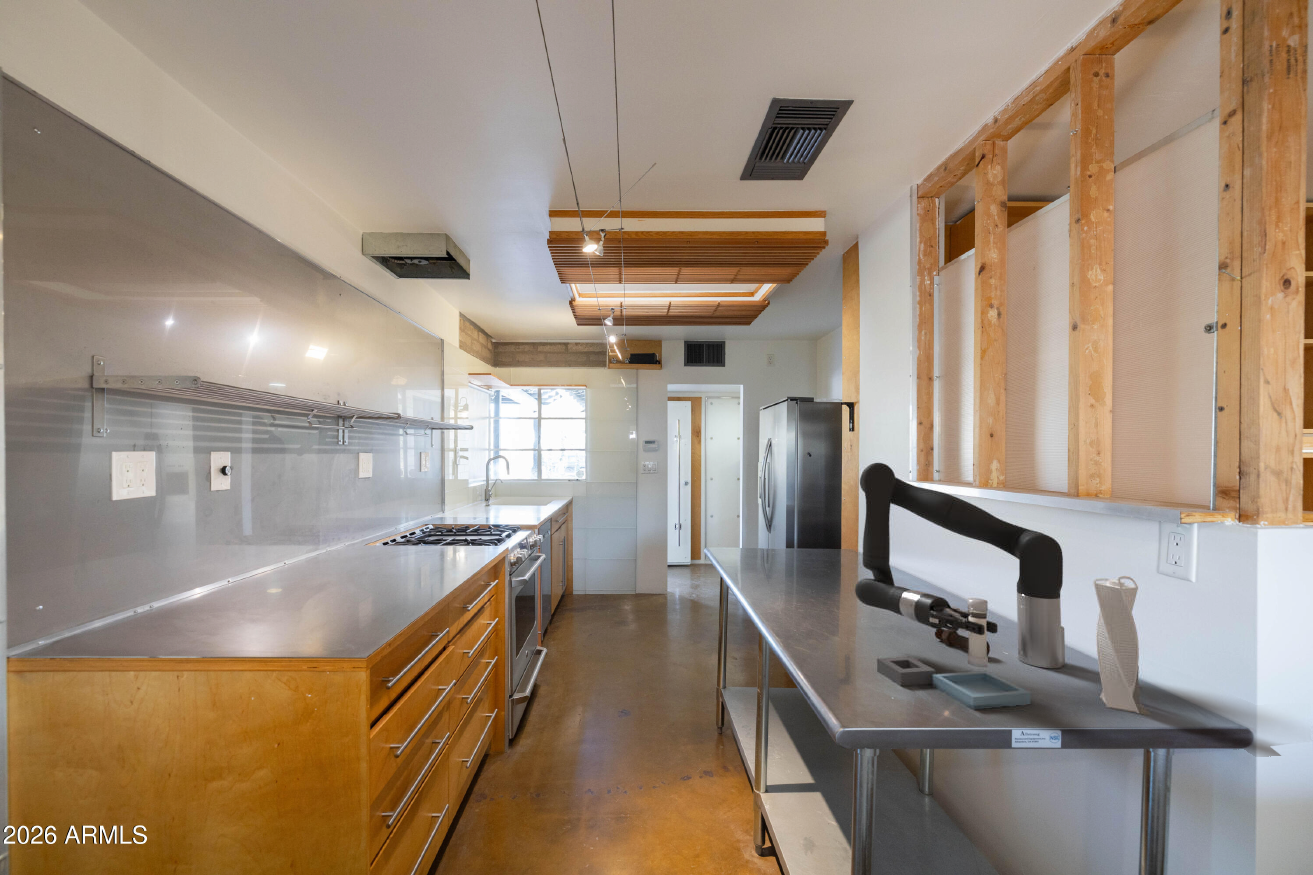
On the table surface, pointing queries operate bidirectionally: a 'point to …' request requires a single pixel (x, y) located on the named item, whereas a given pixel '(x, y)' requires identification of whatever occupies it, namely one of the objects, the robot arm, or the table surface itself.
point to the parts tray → (981, 689)
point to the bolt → (955, 639)
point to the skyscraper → (1118, 645)
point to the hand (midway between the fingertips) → (989, 629)
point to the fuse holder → (905, 671)
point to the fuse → (977, 642)
